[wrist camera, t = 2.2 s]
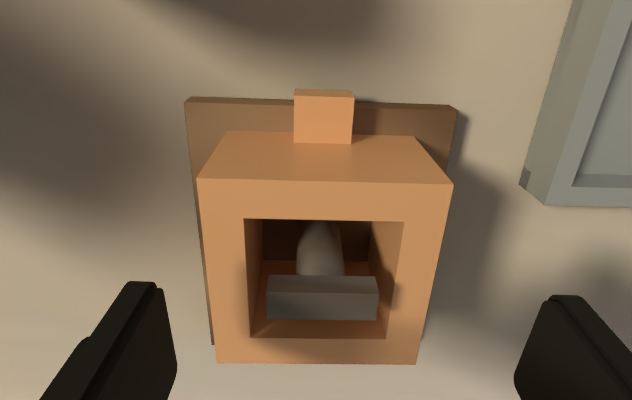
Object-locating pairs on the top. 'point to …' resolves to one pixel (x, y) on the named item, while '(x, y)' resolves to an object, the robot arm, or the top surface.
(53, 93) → the top surface
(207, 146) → the brown board with hook
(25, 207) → the top surface
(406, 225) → the ring
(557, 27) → the top surface
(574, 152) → the tray
